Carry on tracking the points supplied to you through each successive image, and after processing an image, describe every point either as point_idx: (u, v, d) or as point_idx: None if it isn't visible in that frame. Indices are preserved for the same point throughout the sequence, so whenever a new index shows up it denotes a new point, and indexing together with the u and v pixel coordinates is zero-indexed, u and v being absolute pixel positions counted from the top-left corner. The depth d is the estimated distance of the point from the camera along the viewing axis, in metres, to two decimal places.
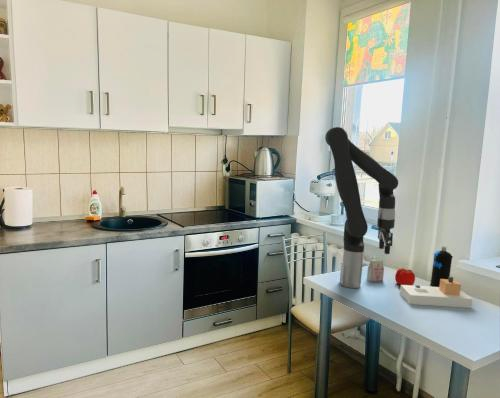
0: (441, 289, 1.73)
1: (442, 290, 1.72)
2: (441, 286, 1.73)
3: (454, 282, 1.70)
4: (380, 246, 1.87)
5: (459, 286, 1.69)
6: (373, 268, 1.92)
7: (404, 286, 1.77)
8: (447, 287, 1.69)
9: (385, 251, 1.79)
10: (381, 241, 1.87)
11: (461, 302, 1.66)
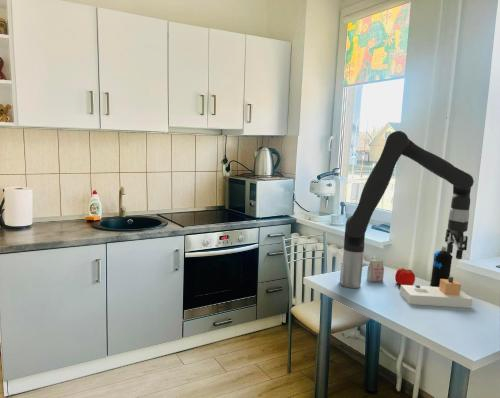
0: (441, 289, 1.73)
1: (442, 290, 1.72)
2: (441, 286, 1.73)
3: (454, 282, 1.70)
4: (448, 250, 1.73)
5: (459, 286, 1.69)
6: (373, 268, 1.92)
7: (404, 286, 1.77)
8: (447, 287, 1.69)
9: (457, 256, 1.65)
10: (449, 245, 1.73)
11: (461, 302, 1.66)
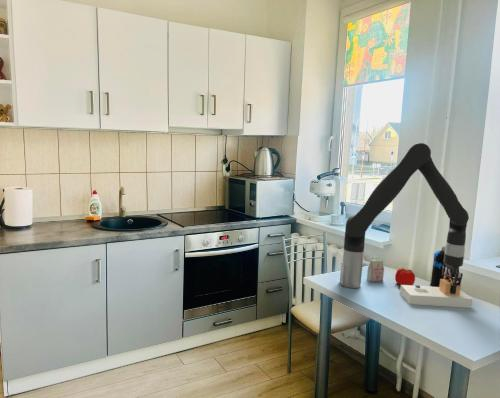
0: (441, 289, 1.73)
1: (442, 290, 1.72)
2: (441, 286, 1.73)
3: None
4: None
5: (459, 286, 1.69)
6: (373, 268, 1.92)
7: (404, 286, 1.77)
8: (447, 287, 1.69)
9: (451, 291, 1.68)
10: None
11: (461, 302, 1.66)
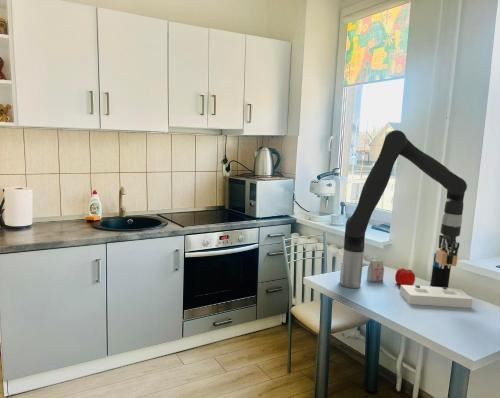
0: (437, 260, 1.71)
1: (438, 261, 1.70)
2: (438, 257, 1.71)
3: None
4: None
5: (456, 256, 1.67)
6: (373, 268, 1.92)
7: (404, 286, 1.77)
8: (443, 257, 1.67)
9: (447, 261, 1.67)
10: None
11: (461, 302, 1.66)
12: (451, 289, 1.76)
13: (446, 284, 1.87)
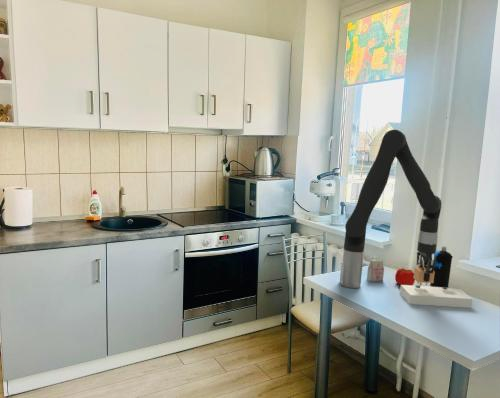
0: (415, 277, 1.72)
1: (416, 278, 1.71)
2: (415, 274, 1.72)
3: None
4: None
5: (433, 274, 1.68)
6: (373, 268, 1.92)
7: (404, 286, 1.77)
8: (421, 275, 1.69)
9: (424, 278, 1.68)
10: None
11: (461, 302, 1.66)
12: (451, 289, 1.76)
13: (446, 284, 1.87)
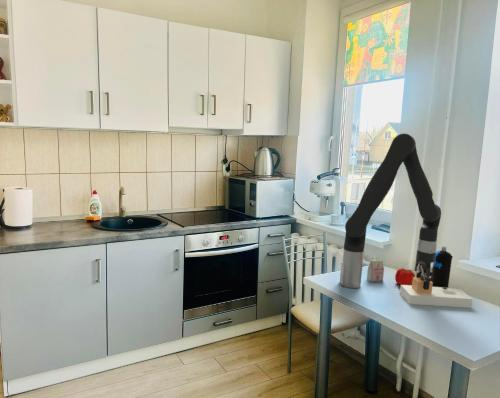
0: (413, 287, 1.73)
1: (414, 288, 1.72)
2: (414, 285, 1.73)
3: None
4: None
5: (431, 284, 1.69)
6: (373, 268, 1.92)
7: (404, 286, 1.77)
8: (419, 285, 1.69)
9: (424, 286, 1.68)
10: (419, 274, 1.75)
11: (461, 302, 1.66)
12: (451, 289, 1.76)
13: (446, 284, 1.87)
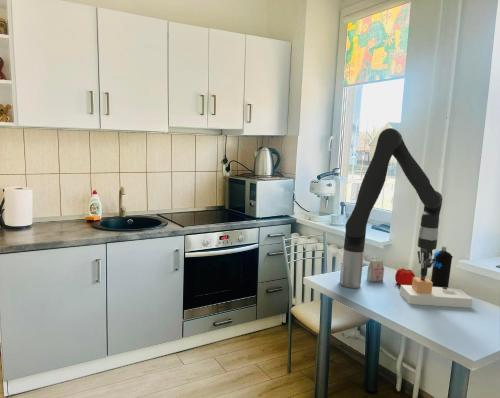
0: (413, 287, 1.73)
1: (414, 288, 1.72)
2: (414, 285, 1.73)
3: (426, 280, 1.71)
4: None
5: (431, 284, 1.69)
6: (373, 268, 1.92)
7: (404, 286, 1.77)
8: (419, 285, 1.69)
9: (422, 273, 1.71)
10: None
11: (461, 302, 1.66)
12: (451, 289, 1.76)
13: (446, 284, 1.87)
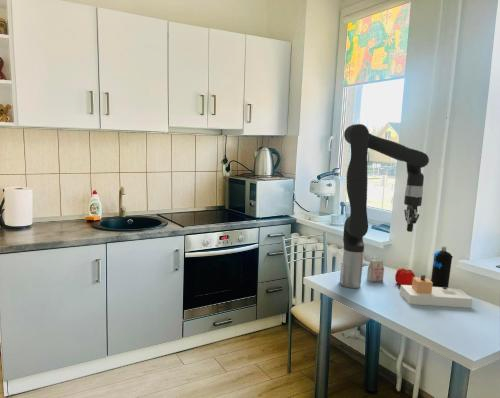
0: (413, 287, 1.73)
1: (414, 288, 1.72)
2: (414, 285, 1.73)
3: (426, 280, 1.71)
4: None
5: (431, 284, 1.69)
6: (373, 268, 1.92)
7: (404, 286, 1.77)
8: (419, 285, 1.69)
9: (408, 229, 1.84)
10: None
11: (461, 302, 1.66)
12: (451, 289, 1.76)
13: (446, 284, 1.87)
